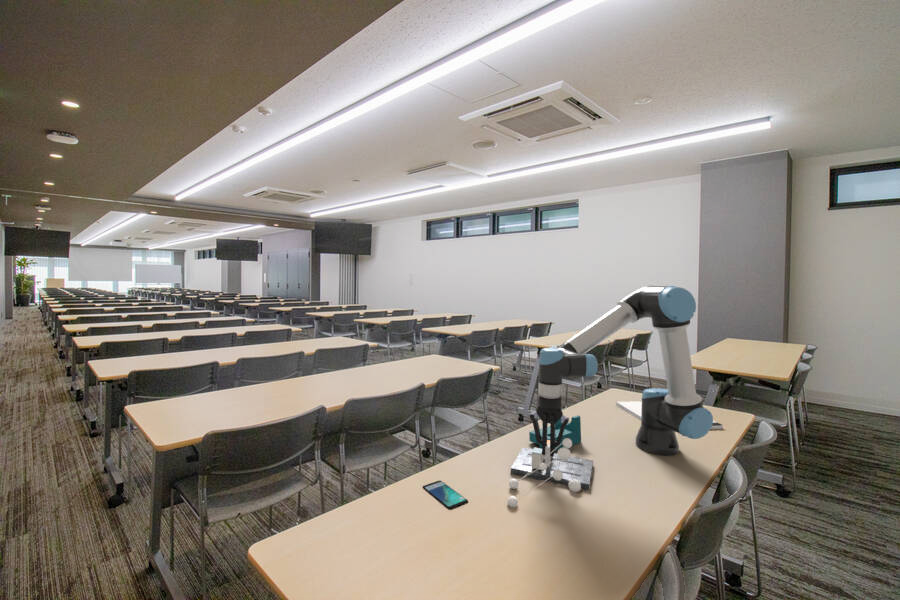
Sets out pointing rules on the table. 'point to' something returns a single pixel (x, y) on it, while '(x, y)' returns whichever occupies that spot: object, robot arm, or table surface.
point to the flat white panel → (636, 411)
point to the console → (580, 469)
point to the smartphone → (445, 494)
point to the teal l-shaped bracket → (570, 432)
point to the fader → (537, 457)
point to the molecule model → (557, 474)
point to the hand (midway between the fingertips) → (547, 464)
